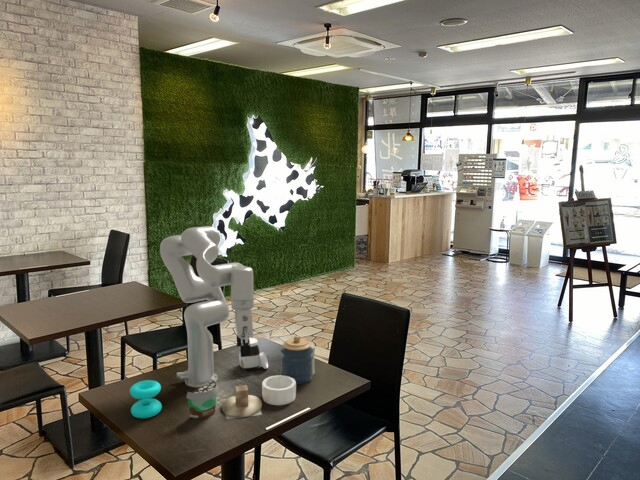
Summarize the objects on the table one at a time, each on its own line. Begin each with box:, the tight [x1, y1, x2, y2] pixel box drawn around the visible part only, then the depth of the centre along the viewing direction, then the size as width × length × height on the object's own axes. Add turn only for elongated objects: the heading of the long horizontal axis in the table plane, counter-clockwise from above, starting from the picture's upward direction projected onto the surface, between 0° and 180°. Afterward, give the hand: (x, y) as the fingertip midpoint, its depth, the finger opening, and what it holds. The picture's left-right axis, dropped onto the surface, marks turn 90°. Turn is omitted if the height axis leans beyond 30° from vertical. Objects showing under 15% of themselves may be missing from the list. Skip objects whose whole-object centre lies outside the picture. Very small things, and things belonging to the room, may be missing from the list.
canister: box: [280, 335, 314, 385], centre depth 191 cm, size 13×13×18 cm
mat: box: [222, 395, 263, 420], centre depth 168 cm, size 12×14×1 cm
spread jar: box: [238, 337, 269, 371], centre depth 201 cm, size 12×11×12 cm
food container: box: [186, 380, 219, 420], centre depth 163 cm, size 12×6×10 cm, turn 148°
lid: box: [221, 384, 263, 418], centre depth 168 cm, size 14×14×7 cm
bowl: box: [261, 374, 297, 406], centre depth 176 cm, size 12×12×6 cm
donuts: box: [129, 379, 163, 419], centre depth 164 cm, size 10×10×10 cm
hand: (243, 350), depth 165 cm, fingers open, 9 cm apart
